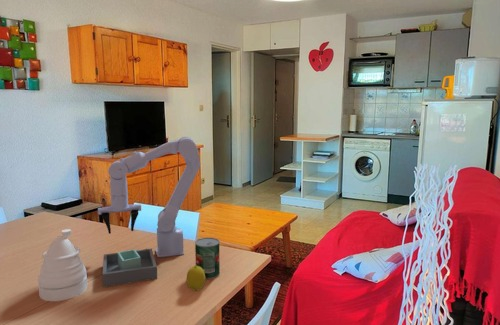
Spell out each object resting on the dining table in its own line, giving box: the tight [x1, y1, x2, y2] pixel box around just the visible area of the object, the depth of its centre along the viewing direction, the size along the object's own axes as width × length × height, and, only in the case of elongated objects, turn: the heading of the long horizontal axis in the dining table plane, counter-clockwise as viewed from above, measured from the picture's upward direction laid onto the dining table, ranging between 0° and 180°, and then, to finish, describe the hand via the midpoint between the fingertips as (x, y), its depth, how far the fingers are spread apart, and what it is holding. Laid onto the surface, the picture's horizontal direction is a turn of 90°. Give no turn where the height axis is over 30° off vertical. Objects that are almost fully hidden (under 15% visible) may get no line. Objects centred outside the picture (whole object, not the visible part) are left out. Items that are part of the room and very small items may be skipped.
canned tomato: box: [194, 237, 221, 280], centre depth 120 cm, size 8×8×11 cm
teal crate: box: [117, 248, 141, 270], centre depth 122 cm, size 6×8×5 cm
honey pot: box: [37, 228, 88, 302], centre depth 109 cm, size 13×13×18 cm
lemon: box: [186, 264, 206, 292], centre depth 109 cm, size 6×6×8 cm
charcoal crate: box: [102, 248, 158, 288], centre depth 122 cm, size 16×16×4 cm
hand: (121, 231), depth 133 cm, fingers open, 7 cm apart
